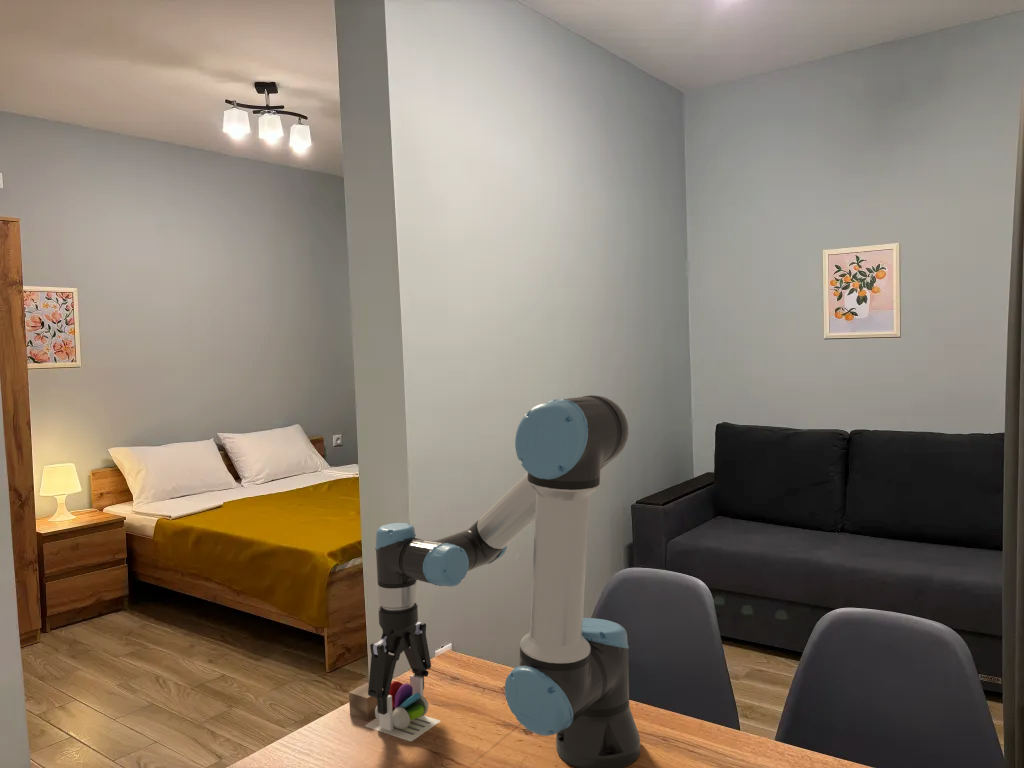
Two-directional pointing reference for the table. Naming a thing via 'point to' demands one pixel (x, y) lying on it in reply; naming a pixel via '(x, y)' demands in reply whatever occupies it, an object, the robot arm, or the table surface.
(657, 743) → the table surface
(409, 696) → the rainbow petal toy
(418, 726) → the letter
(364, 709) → the walnut block
